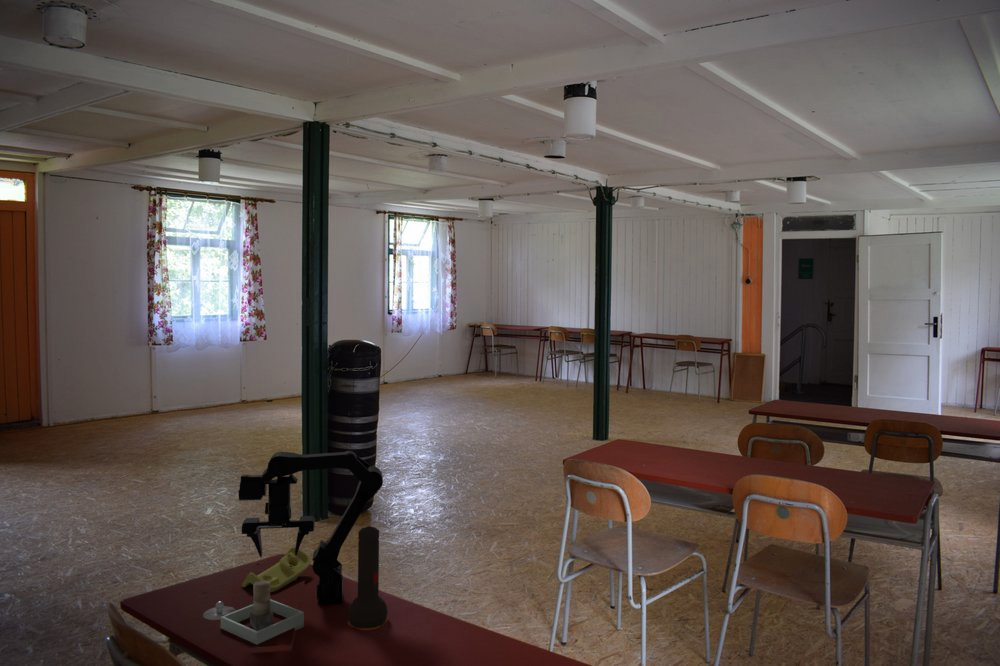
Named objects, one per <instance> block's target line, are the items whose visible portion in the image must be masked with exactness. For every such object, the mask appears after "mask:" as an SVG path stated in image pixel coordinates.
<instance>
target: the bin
mask: <svg viewBox="0 0 1000 666" xmlns="http://www.w3.org/2000/svg"><path fill="white" fill-rule="evenodd" d="M252 611H253V603H252V604H250V605H247V606H245V607H243V608H240V609H237V610H236V611H235V612H232V613H229V614H227V615H224V616H222V617H221V619H220V629H221V630H224V631H226V632H228V633H231V634H232V635H235V636H237V637H239V638H241V639H243V640H245V641H248V642H250V643H252V644H255V645H256V646H253V648H255V649H259V648H261V647H262V646H261V645H260V646H257V645H259V644H261V643H263V642H267V640H270V639H273V638H275V637H276V636H278V635H281V634H284V633H285V632H287V631H290V630H292V629H294V630H293V632H296V631H298V630H300V629H302V628H304V627H305V611H302V610H300V609H297V608H294V607H291V606H290V605H286V604H284V603H281V602H278V601H276V600H274V599H271V598H270V611H271V612H272V613H273V614H276V615H279V616H282V617H284V618H285V619H282V620H279V621H278V622H276V623H273V625H271V626H268V627H266V628H264V629H261V630H259V631H255V630H254V629H253V628H252V627H251V628H250V627H248V626H247V625H244V624H242V623H240V622H242V621H244V620H247V619H250V612H252Z"/></svg>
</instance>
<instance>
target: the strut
mask: <svg viewBox="0 0 1000 666" xmlns="http://www.w3.org/2000/svg"><path fill="white" fill-rule="evenodd" d="M252 586H253V590H252V593H253V599H252V600H253V602H252V604H253V611H252V612H250V618H249V626H250V627H251V629H253V630H255V631H259V630H261V629H264V628H266V627H268V626H271V625H273V624H274V612H271V611H270V599H271V592H270V582H269V581H258V582H255V583H254V584H253V585H252Z"/></svg>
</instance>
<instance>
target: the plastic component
mask: <svg viewBox="0 0 1000 666" xmlns="http://www.w3.org/2000/svg"><path fill="white" fill-rule="evenodd" d="M295 548H296V546H293V547H291V548H290V549H289V550H288V552H287V553H285V555H284V556H283V557H281V558H280V560H279V561H277V562H276V563H275V564H274V565H272V566H271V567H269V568H267V569H266V570H264V571H263V572H261V573H259V574H258V575H256V574H255V573H254V572H249V573H248V574H247V575H246V577H245V578H244V580H243V582H242V584H241V587H242V588H247V587H249V586H251V585H252V586H253V584H254V583H255V582H258V581H269V582H270V593H274V592H276V591H278V590H280V589H282V588H283V587H285V586H287V585H288V584H291V583H292V582H294V581H297V579H298V577H299V576H300V575H302V574H303V573H304V572H305V571H306V570H307V568H308V567H309V566H310V564H311V558H310V556H309V555H308V554H307V553H306V552H304V551H303V550H302V549H301V548H299V550H298V553H297V555H296V556H295Z"/></svg>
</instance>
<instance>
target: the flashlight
mask: <svg viewBox="0 0 1000 666" xmlns="http://www.w3.org/2000/svg"><path fill="white" fill-rule="evenodd" d="M357 537H358V544H357V546H358V547H357V548H358V549H357V555H358V557H357V596H356V597H355V598H354V599H353V600H352V602H351V604H350V605H349V608H348V613H347V617H348V622H349V625H350V626H353V628H355V629H362V630H363V629H374V628H378V627H381V626H382V625H384V624H385V623H386V620H387V618H388V607H387V604H386V602H385V600H384V599H383V598H382V597H381V596H380V595H379V583H380V582H379V581H380V579H379V576H380V575H379V574H380V573H379V572H380V571H379V570H380V569H379V568H380V565H379V564H380V540H379V539H380V530H379V529H378V528H377V527H375V526H369V525H368V526H365V527H362V528H360V530H359V531H358V535H357Z"/></svg>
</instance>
